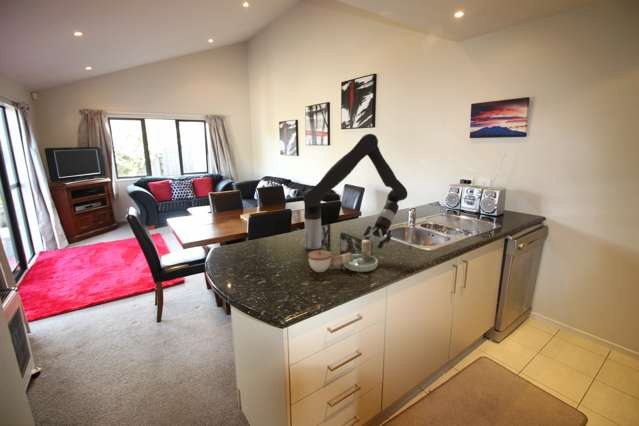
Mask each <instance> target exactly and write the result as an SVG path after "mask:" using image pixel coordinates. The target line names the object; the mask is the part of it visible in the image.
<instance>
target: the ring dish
mask: <svg viewBox="0 0 639 426" xmlns="http://www.w3.org/2000/svg"><path fill="white" fill-rule="evenodd" d="M351 254H352V257H353V261H352V262H349V263H345V264H343V266H344V268H345V269H348V270H350V271H353V272H361V273H362V272H370V271H373V270H376V269H377V267H378V266H379V260H378V259H377V257H376V256H373V255H371V257H370V262H364V259H363V258H362V253H351Z"/></svg>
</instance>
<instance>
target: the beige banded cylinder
mask: <svg viewBox="0 0 639 426" xmlns="http://www.w3.org/2000/svg"><path fill="white" fill-rule="evenodd" d="M352 254H353V253H352V252H351V251H349V252H345V253H343V254H339V255H335V256H333V257H332V256H331V265H332V268H335V267H338V266H342V265H344V264H345V263H349V262H352V261H353V257H352Z"/></svg>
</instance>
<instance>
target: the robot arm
mask: <svg viewBox="0 0 639 426" xmlns="http://www.w3.org/2000/svg"><path fill="white" fill-rule="evenodd" d="M378 144H379V139H378V137H377V136H376V134H373V133H366V134H364V135H362V137H361V138H360V139H359V141H357V143H356V144H355V146H354V147H353V148H351V149H350V151H348V152H347V153H345V155H343V156H342V157H341V158H340V159H338V161H336V163H334V164H333V165H332V166H331V167H330V168H329V170H327V172H326V173H325V175H323V177H322V178H321V180H320V181H318V183H317V184H316V185H314V187H312V188H309V189H308V190H306V191H305V193H304V194H303V198H302V199H303V203H304V211H303V212H304V216H303V217H304V241H305V243H304V246H305V250H320V249H321V248H322V244H323V243H322V205H321V204H322V200H323V199H324V198H325V197H326V196H327V194H328V193H329V192H331V191H332V190H333V189H335V187H337V186H338V185H339V184H341V182H343V181H344V180H345V179H346V178H347V177H348V176H349V175H350V174H351V173H352V172H353V170H354V169H355V168H356V167H357V165H359V163H360V162H361V161H362V160H363V159H364V158H365V157H367V156H368V158H369V160H370V161H371V163H372V164H373V166H374V167H375V170H376V172H377V174H378V175H379V177H380V179H381V181H382V183H383V184H384V186H385V187H387V188H390V189H391V190H390V191H389V193H388V194H387V198H386V201H385V204H384V206H383V208H382V211H381V212H380V213H379V215H378V217H377V219H376V221H375V223H374V226H373V227H372V226H371V225H368V226H367V228H366V230H364V233H363V236H364V237H365V238H364V240H370V239H372V238H380V241H379V243H378V245H377V248H378V250H381V249H382V248H383V247H384V244H386V243H387V244H389V243H390V240H391V238H392V237H393V232H392V231H391V229H390V227H391V226H392V224H393V222H394V219H395V216H396V215H397V212H398V210H399V204H398V202H401V201H404V200H405V199H407V197H408V191H407V189H406V186H404V184H403V183H401V181H400V180H399V179H398V178H397V176H396V174H395V173H394V171H393V169H392V168H391V167H390V165H389V164H388V162H387V161H386V159H385V158H384V156H383V155H382V153H381V151H380V147H379V146H378Z"/></svg>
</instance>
